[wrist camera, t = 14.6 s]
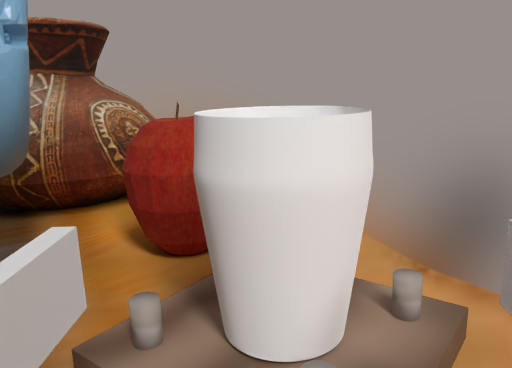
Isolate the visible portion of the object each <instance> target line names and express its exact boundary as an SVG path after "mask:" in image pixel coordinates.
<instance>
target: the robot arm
mask: <svg viewBox="0 0 512 368" xmlns="http://www.w3.org/2000/svg"><path fill="white" fill-rule="evenodd" d="M27 18H28V3H27V0H0V177H3V176H5V175H8V174H10V173H12V172H13V171H14V170H15V169H17V168H18V167H19V166H20V165H21V164H22V163H23V161H24V160H25V158H26V156H27V152H28V146H29V130H30V78H29V49H28V45H27V39H28V22H27ZM500 304H501V305H502V306H503V307H504V308H505V309H506V310H507V311H508V312H509V313H510V314H511V315H512V220H509V227H508V235H507V243H506V253H505V261H504V270H503V278H502V288H501V296H500ZM86 308H87V305H86V297H85V289H84V281H83V274H82V266H81V258H80V251H79V243H78V235H77V228H76V227H51V228H50V229H48V230H47V231H45V232H44V233H43V234H41V235H40V236H38V237H37V238H35V239H34V240H32V241H31V242H29V243H28V244H26V245H25V246H23V247H22V248H20V249H19V250H17V251H16V252H15V253H13V254H12V255H10V256H9V257H7V258H6V259H4V260H3V261H1V262H0V368H39V367H40V365H41V364H42V363H43V362H44V360H45V359H46V358H47V357H48V355H49V354H50V353H51V352H52V350H53V349H54V348H55V347H56V345H57V344H58V343H59V342H60V340H61V339H62V338H63V337H64V335H65V334H66V333H67V332H68V330H69V329H70V328H71V327H72V325H73V324H74V323H75V322H76V320H77V319H78V318H79V317H80V315H81V314H82V313H83V312H84V310H85V309H86Z"/></svg>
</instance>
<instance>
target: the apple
mask: <svg viewBox="0 0 512 368" xmlns="http://www.w3.org/2000/svg"><path fill="white" fill-rule="evenodd" d="M178 109H179V104H178V103H177V109H176V118H161V119H154V120H152V121H150V122H148V123H146V124H144V125H142V126H141V128H140V129H139V131H138V132H137V133H136V135H135V136H134V138H133V139H132V140H131V142H130V143H129V146H128V149H127V153H126V157H125V160H124V164H123V168H122V173H123V178H124V182H125V187H126V191H127V196H128V200H129V204H130V206H131V208H132V210H133V212H134V214H135V216H136V218H137V220H138V222H139V224H140V226H141V227H142V229H143V231H144V233H145V235H146V237H147V238H149V239H150V240H151V241H152V242H154V243H155V244H157V245H158V246H159V247H161V248H162V249H164V250H165V251H166V252H168V253H170V254H174V255H192V254H198V253H201V252H203V251H205V250H206V249H207V248H208V247H207V242H206V237H205V232H204V227H203V222H202V217H201V212H200V207H199V202H198V197H197V192H196V186H195V181H194V174H193V166H194V116H190V117H181V118H178Z"/></svg>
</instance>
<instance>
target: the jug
mask: <svg viewBox="0 0 512 368" xmlns="http://www.w3.org/2000/svg"><path fill="white" fill-rule="evenodd" d="M27 22H28V39H27V45H28V49H29V78H30V130H29V146H28V152H27V156H26V158H25V160H24V161H23V163H22V164H21V165H20V166H19V167H18V168H17V169H15V170H14V171H13V172H12V173H10V174H8V175H5V176H3V177H0V207H3V208H8V209H15V210H54V209H66V208H74V207H82V206H89V205H93V204H98V203H102V202H106V201H110V200H112V199H115V198H118V197H121V196H123V195H124V194H126V193H127V191H126V187H125V182H124V178H123V173H122V168H123V164H124V160H125V157H126V153H127V149H128V146H129V143H130V142H131V140H132V139H133V138H134V136H135V135H136V133H137V132H138V131H139V129H140V128H141V126H142V125H144V124H146V123H148V122H150V121H152V120H154V119H155V118H154V117H153V116H152V115H151V114H150V113H149V112H148V111H147V110H146V109H145V108H144V107H143V106H142V105H141V104H140V103H138V102H136V101H135V100H133V99H132V98H130V97H128V96H127V95H125V94H123V93H121V92H119V91H117V90H115V89H113V88H111V87H109V86H107V85H105V84H104V83H103V82H101V81H100V80H99V79H98V78H96V77H95V76H94V75H95V70H96V66H97V61H98V59H99V56H100V53H101V51H102V49H103V46H104V44H105V42H106V39H107V36H108V34H109V31H108V30H107V29H106V28H104V27H103V26H100V25H97V24H93V23H89V22H85V21H74V20H63V19H55V18H41V17H28V18H27Z"/></svg>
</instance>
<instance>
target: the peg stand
mask: <svg viewBox="0 0 512 368" xmlns="http://www.w3.org/2000/svg"><path fill="white" fill-rule="evenodd" d="M422 285H423V275H422V274H421V273H420V272H418V271H415V270H411V269H398V270H396V271H394V273H393V288H392V287H388V286H384V285H380V284H376V283H373V282H369V281H365V280H361V279H357V278H354V282H353V287H352V292H351V298H350V303H349V309H348V314H347V320H346V325H345V330H344V335H343V338H342V340H341V341H340V342H339V344H338V345H337V346H336V347H335V348H333V349H332V350H330V351H329V352H327V353H325V354H323V355H321V356H318V357H315V358H312V359H308V360H303V361H296V362H275V361H268V360H263V359H259V358H256V357H253V356H250V355H248V354H246V353H244V352H242V351H240V350H238V349H237V348H236V347H234V346H233V345H232V344H231V343H230V342H229V340H228V339H227V337H226V335H225V331H224V326H223V321H222V316H221V311H220V306H219V301H218V296H217V291H216V286H215V281H214V276H213V274H211V275H209V276H207V277H206V278H204V279H202V280H200V281H198V282H196V283H194V284H192V285H191V286H189V287H187V288H185V289H183V290H181V291H179V292H178V293H176V294H174V295H172V296H170V297H168V298H166V299H164V300H163V301H161V302H160V296H159V294H157V293H155V292H142V293H138V294H136V295H134V296H132V297H131V298H130V299H129V310H130V318H129V319H127V320H125V321H123V322H121V323H120V324H118V325H116V326H114V327H112V328H110V329H108V330H107V331H105V332H103V333H101V334H99V335H97V336H95V337H93V338H92V339H90V340H88V341H86V342H84V343H82V344H80V345H79V346H77V347H75V348H73V349H72V355H73V362H74V368H451V367H452V365H453V363H454V361H455V359H456V357H457V355H458V352H459V350H460V348H461V346H462V344H463V342H464V340H465V338H466V328H467V317H468V307H464V306H460V305H456V304H452V303H449V302H445V301H441V300H437V299H433V298H430V297H426V296H422Z"/></svg>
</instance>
